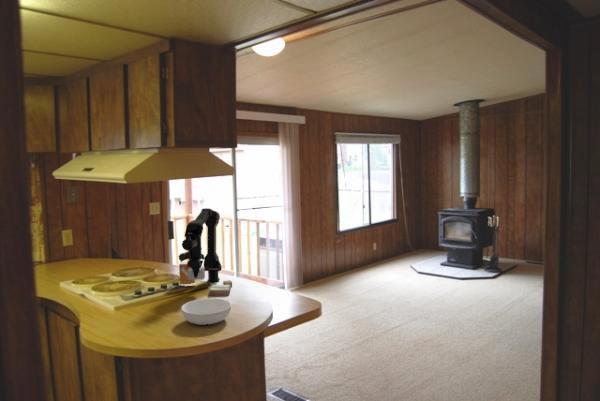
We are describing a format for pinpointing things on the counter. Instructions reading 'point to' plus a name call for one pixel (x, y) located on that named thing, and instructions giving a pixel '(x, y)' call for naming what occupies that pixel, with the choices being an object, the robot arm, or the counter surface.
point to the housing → (200, 275)
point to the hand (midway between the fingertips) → (196, 276)
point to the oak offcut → (227, 283)
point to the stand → (219, 290)
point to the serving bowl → (206, 311)
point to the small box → (184, 273)
